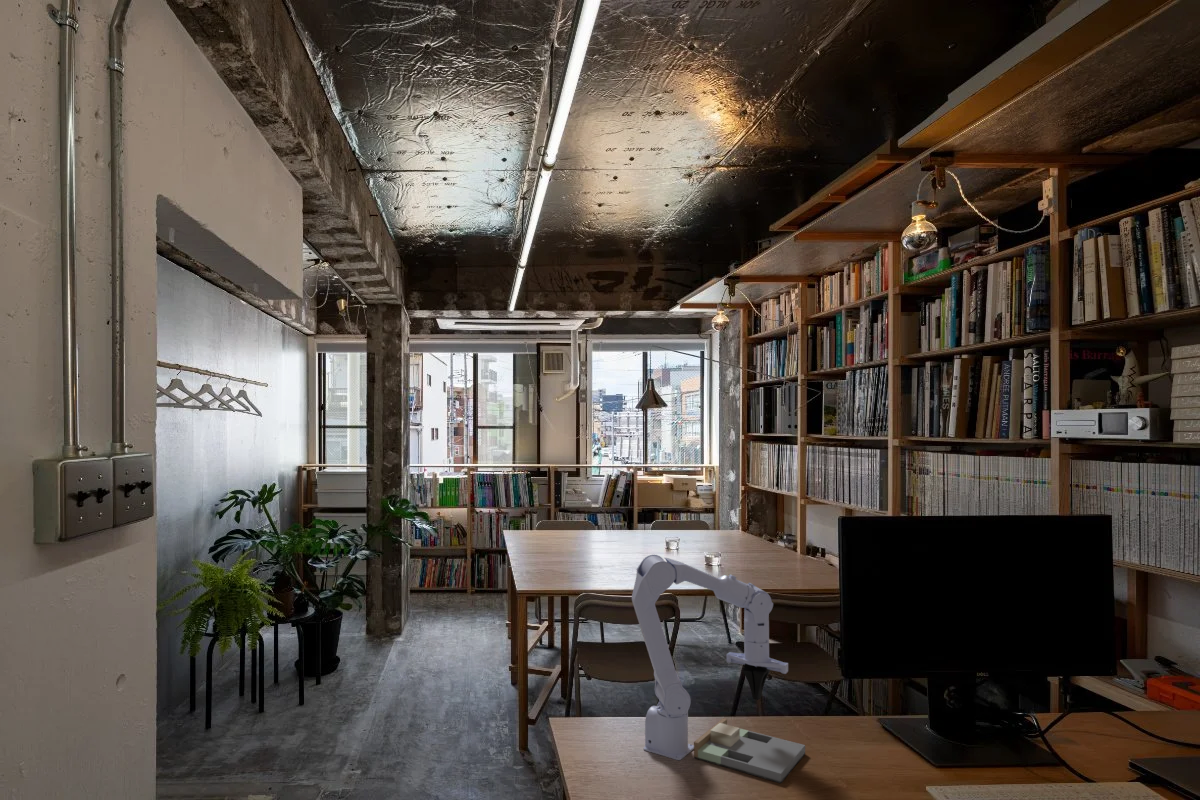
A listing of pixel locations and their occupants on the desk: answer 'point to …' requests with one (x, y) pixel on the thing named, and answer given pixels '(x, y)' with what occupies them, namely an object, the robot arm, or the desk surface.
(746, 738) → the board
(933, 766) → the desk surface
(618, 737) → the desk surface
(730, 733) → the cream block
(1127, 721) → the desk surface
